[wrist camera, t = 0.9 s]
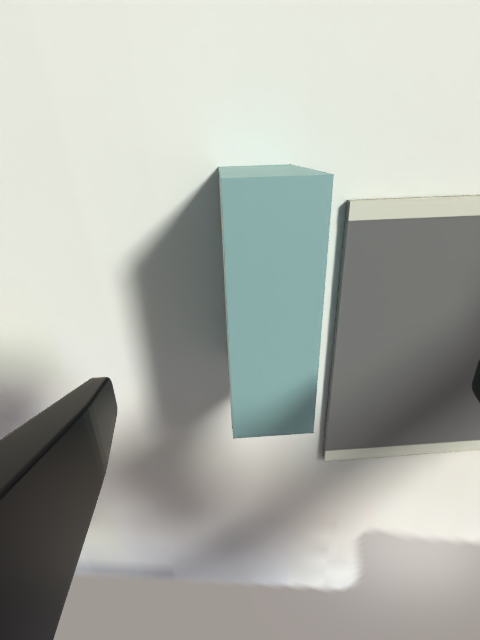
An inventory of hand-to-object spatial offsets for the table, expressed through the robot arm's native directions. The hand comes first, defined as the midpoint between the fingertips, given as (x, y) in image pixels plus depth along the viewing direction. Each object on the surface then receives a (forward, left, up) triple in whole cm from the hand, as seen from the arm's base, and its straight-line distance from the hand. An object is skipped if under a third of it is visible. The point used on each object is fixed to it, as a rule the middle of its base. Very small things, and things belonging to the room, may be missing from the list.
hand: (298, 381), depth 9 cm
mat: (-11, +5, -9) cm, 15 cm away
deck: (0, 0, -9) cm, 9 cm away
